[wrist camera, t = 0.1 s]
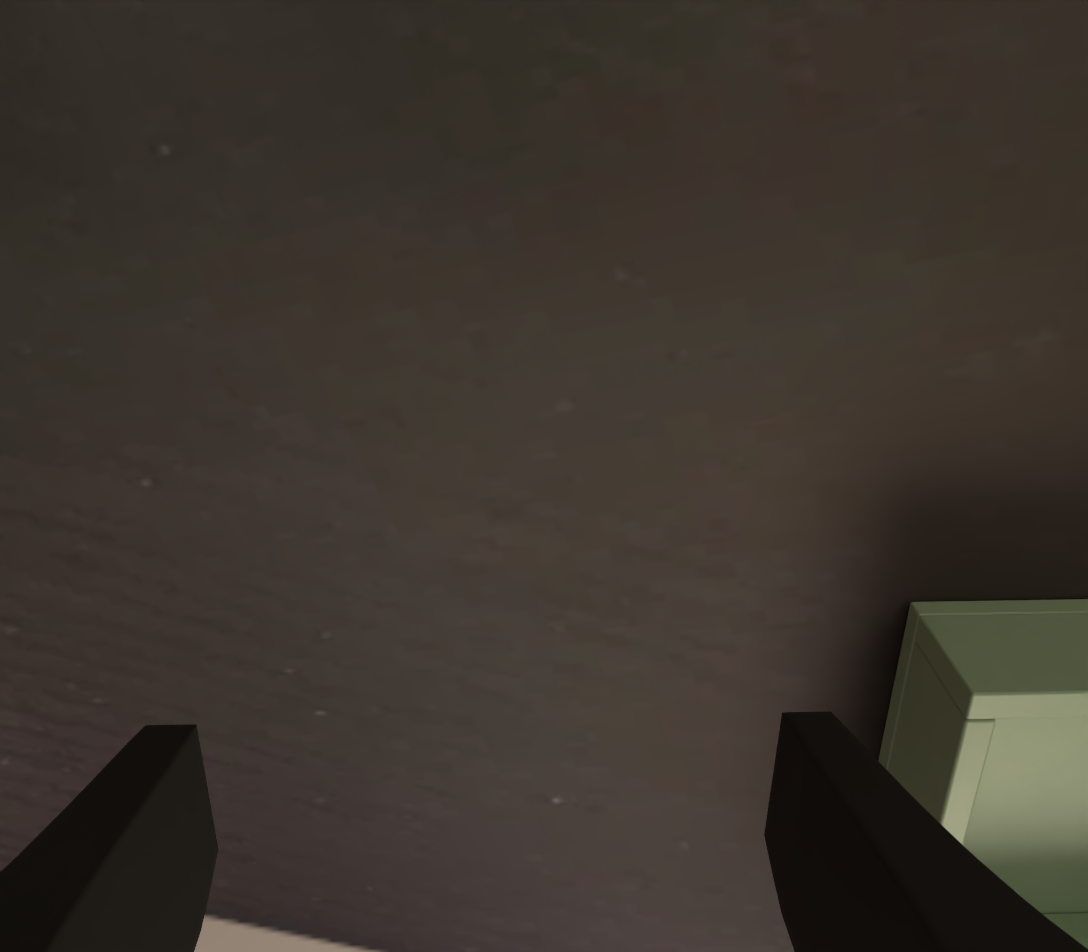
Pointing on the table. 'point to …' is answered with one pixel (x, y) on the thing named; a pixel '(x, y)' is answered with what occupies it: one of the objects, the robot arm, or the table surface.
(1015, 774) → the tray
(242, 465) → the table surface
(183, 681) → the table surface
